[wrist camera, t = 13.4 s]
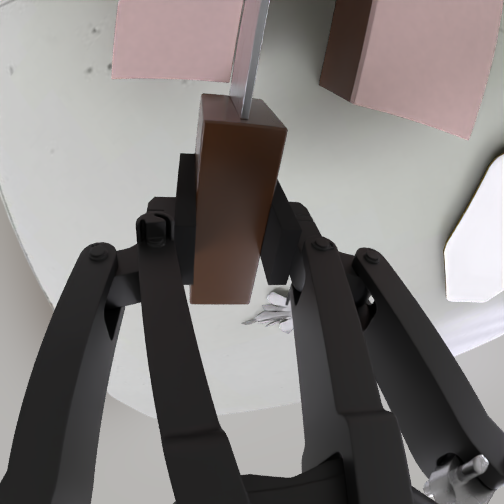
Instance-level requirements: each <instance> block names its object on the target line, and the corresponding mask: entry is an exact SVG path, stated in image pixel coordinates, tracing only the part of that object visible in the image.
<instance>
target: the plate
mask: <svg viewBox="0 0 504 504" xmlns="http://www.w3.org/2000/svg"><path fill="white" fill-rule="evenodd" d="M443 253H444V266H445V284H446V298H447V299H448V300H449V301H457V302H486V301H488V300H490V299H492V298H493V297H494V296H496V295H497V294H499V293H500V292H501V291H503V290H504V152H503V153H502V154H500V155H498V156H497V157H495V159H494V160H493V161H492V162H491V163H490V164H489V166H488V168H487V170H486V172H485V174H484V176H483V178H482V179H481V181H480V183H479V185H478V187H477V189H476V191H475V193H474V195H473V196H472V198H471V200H470V202H469V204H468V205H467V207H466V209H465V211H464V213H463V214H462V216H461V218H460V219H459V221H458V223H457V224H456V226H455V228H454V229H453V231H452V233H451V234H450V236H449V238H448V239H447V241H446V244H445V247H444V250H443Z"/></svg>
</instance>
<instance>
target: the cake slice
mask: <svg viewBox="0 0 504 504" xmlns="http://www.w3.org/2000/svg"><path fill="white" fill-rule="evenodd" d="M242 6H243V0H119V2H118V9H117V17H116V26H115V36H114V47H113V60H112V77H111V78H112V79H135V78H151V79H185V80H201V81H215V82H226V83H229V82H230V77H231V70H232V64H233V58H234V52H235V46H236V40H237V34H238V28H239V22H240V17H241V11H242Z"/></svg>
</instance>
